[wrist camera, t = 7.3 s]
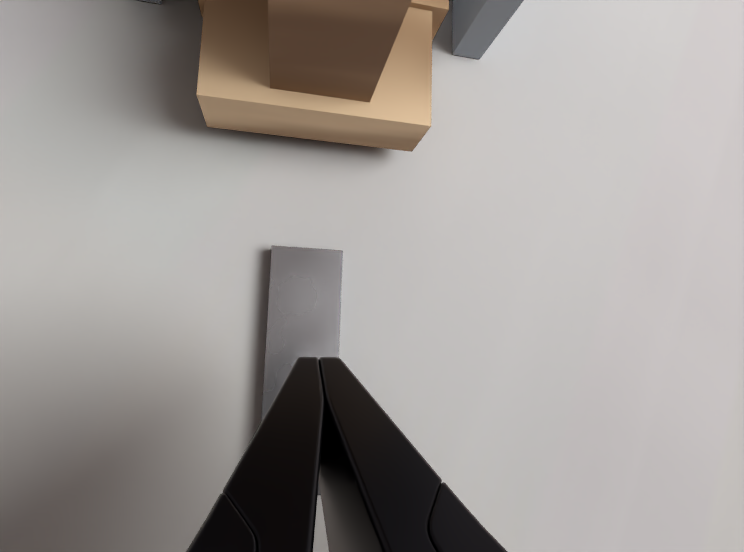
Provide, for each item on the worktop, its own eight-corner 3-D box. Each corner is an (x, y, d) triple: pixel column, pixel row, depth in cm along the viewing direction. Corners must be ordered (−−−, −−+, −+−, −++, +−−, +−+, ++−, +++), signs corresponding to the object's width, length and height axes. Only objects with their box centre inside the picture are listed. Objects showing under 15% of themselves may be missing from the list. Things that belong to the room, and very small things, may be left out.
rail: (331, 487, 15) (333, 494, 14) (257, 491, 14) (256, 498, 14) (340, 253, 16) (342, 250, 15) (271, 249, 15) (271, 245, 15)
